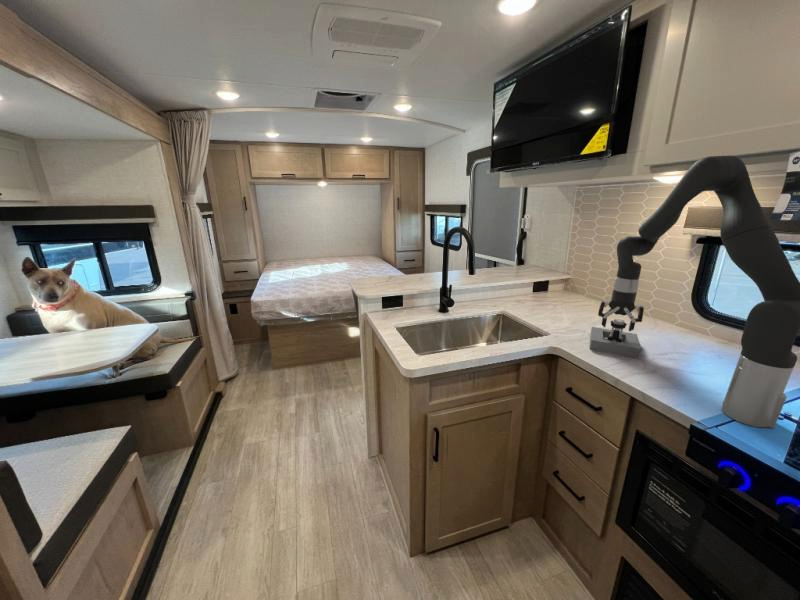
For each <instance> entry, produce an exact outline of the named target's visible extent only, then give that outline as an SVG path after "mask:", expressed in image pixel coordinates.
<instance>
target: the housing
mask: <svg viewBox="0 0 800 600" xmlns="http://www.w3.org/2000/svg"><path fill="white" fill-rule="evenodd" d="M611 330H612V329H608V328H604V327H603V328H601V327H595V326H591V329H590V334H589V350H593V351H598V352H602V353H608V354H613V355H617V356H623V357H628V358H633V359H638V360H639V359H640V356H641V353H642V347H641V343H640V340H639V337H638V334H637V333H633V332H628V331H627V332H625V331H622V335H621V337H622V339H623V340H622V343H621V342H615V341H610V340H607V339H605V338H608V337H609V336H610V334H611ZM613 332H614V331H613ZM619 335H620V334H619ZM603 337H605V338H603Z"/></svg>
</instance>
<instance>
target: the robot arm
mask: <svg viewBox="0 0 800 600" xmlns="http://www.w3.org/2000/svg"><path fill="white" fill-rule="evenodd" d="M712 191H713V192H714V193H715V194H716V196H717V198H718V200H719V202H720V204H721V206H722V211H723V214H722V220H721V226H720V239H721V242H722V244H723V247H724V249H725V250H726V253H727V255H728V257H729V258H730V260H731V261H732V262H733V264H734V265H735V266H737V267H738V268H739V270H741V272H743V273H744V274H745V275H746V276H747V277H748V278H750V280H752V282H754V284H756V286H757V288H758V289H759V291H760V294H761V296H762V298H763V301H761V302H759V303H757V304H756V305H754V306H753V307H752V308H751V310H750V311H749V314H748V315H747V318H746V321H745V324H744V327H743V332H742V334H741V338H740V345H741V351H740V354H739V357H738V360H737V363H736V364H735V365H736V366H735V369H734V371H733V374H732V377H731V381H730V383H729V385H728V388H727V391H726V394H725V397H724V399H723V402H722V405H721V408H720V409H721V411H722V413H723V414H725V415H726V416H727V417H729V418H730V419H733V420H734V421H737V422H739V423H742V424H745V425H747V426H751V427H756V428H771V429H775V426H776V424H777V422H778V419H779V417H780V414H781V412H782V410H783V407H784V405H785V403H786V401H787V398H788V396H787V395H786V394H785V393H784V392H785V390H786V387H787V385H788V383H789V380H790V378H791V375H792V373H793V370H794V368H795V366H796V364H797V362H798V355H797V354H795V352H793V351H792V350H793V346H794V343H795V340H796V337H797V336H800V280H799V279H798V277H797V275H796V273H795V272H794V269H793V268H792V266H791V263H790V261H789V259H788V257H787V255H786V253H785V252H784V249H783V248H782V246H781V244H780V243H781V242H780V241H779V239H778V237H777V234H776V233H775V230H774V229H773V227H772V225H771V223H770V222H769V220H768V218H767V216H766V214H765V212H764V210H763V208H762V206H761V204H760V201H759V200H758V198H757V196H756V193H755V190H754V188H753V184H752V182H751V178H750V175H749V171H748V169H747V166H746V164H745V162H744V161H743V160H742V159H741V158H739V157H738V156H734V155H713V156H712V155H711V156H706V157H702V158H700V159H698V160H697V161H695V162H694V163H693V164H692V165H691V166H690V167H689V168H688V170H687V171H686V172H685V173H684V174H683V176H682V177H681V178H680V180H679V181H678V182H677V184H676V186H675V187H673V189H672V191H671V192H670V193H669V195H668V196H667V197H666V199H665V200H664V201H663V203H662V204H661V205H660V206H659V207H658V208H657V209H656V210H655V211H654V212H653V213H652V214H651V215H650V216H649V217H648V218H647V219H646V220H645V221H644V222H643V223H642V224H641V225H640V227H639V228H638V235H639V236H624V237H623V238H621V239H620V240H619V241H618V243H617V245H616V254H617V264H618V268H617V272H616V273H617V274H616V277H615V279H614V284H613V286H612V288H613V289H612V295H611V298H610V301H609V302H608V301H605V300H601V301H600V304H599V305H600V306H599V309H598V313H597V314H598V315H597V316H599V317H601V318H602V319H601V326H602V327H603V328H606V326H607V320H608V318H609V317H610V316H612V315H613V314H614V315H617V316H618V315H620V316H628V318H629V319H630V322H629V326H628V332H632V331H634V330H635V325H636V323H642V322H643V318H644V310H645V308H644V306H643V305H635V302H636V298H637V292H638V289H639V282H640V281H639V280H640V276H641V271H642V265H641V263H639V262H635V261H634V257H636V256H637V257H639V256H640V257H641V256H644V255H647V254H648V253H650V252H651V251H652V250H653V249H654V247H655V246H656V244H657V243H658V242H659V240H660V238H661V237H662V236H664V235H665V234H666V233H667V232H668V231H669V230H670V229H671V228H673V227H674V226H675V225H676V223H677V222H678V220H679V219H680V217H681V214H682V212H683V210H684V208H685V207H686V206H687V205H688V204H689V202H690V201H692V200H693V199H694V198H696V197H697V196H698V195H700V194H702V193H703V192H712ZM607 306H608V307H609V309H608V310H607V311H606V312H605V313H603V312H604V309H605V308H607ZM634 310H636V312H637V317H635V316H634V315H633V314H632V312H633V311H634Z"/></svg>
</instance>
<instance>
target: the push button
mask: <svg viewBox="0 0 800 600" xmlns="http://www.w3.org/2000/svg"><path fill="white" fill-rule="evenodd" d="M610 326H611V327H612V328H611V329H610V330H611V334H610V336H609V337H608V338H605V337H603V338H605V339H607V340H610V341H615V342H621V343H622V340H623V339H622V337H621V335H622V332H624V330H623V329H626V327H627V323H626V322H625V320H624V319H619V318H614V319H613V320H611V321H610ZM613 331H614V332H613ZM619 334H620V335H619Z"/></svg>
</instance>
